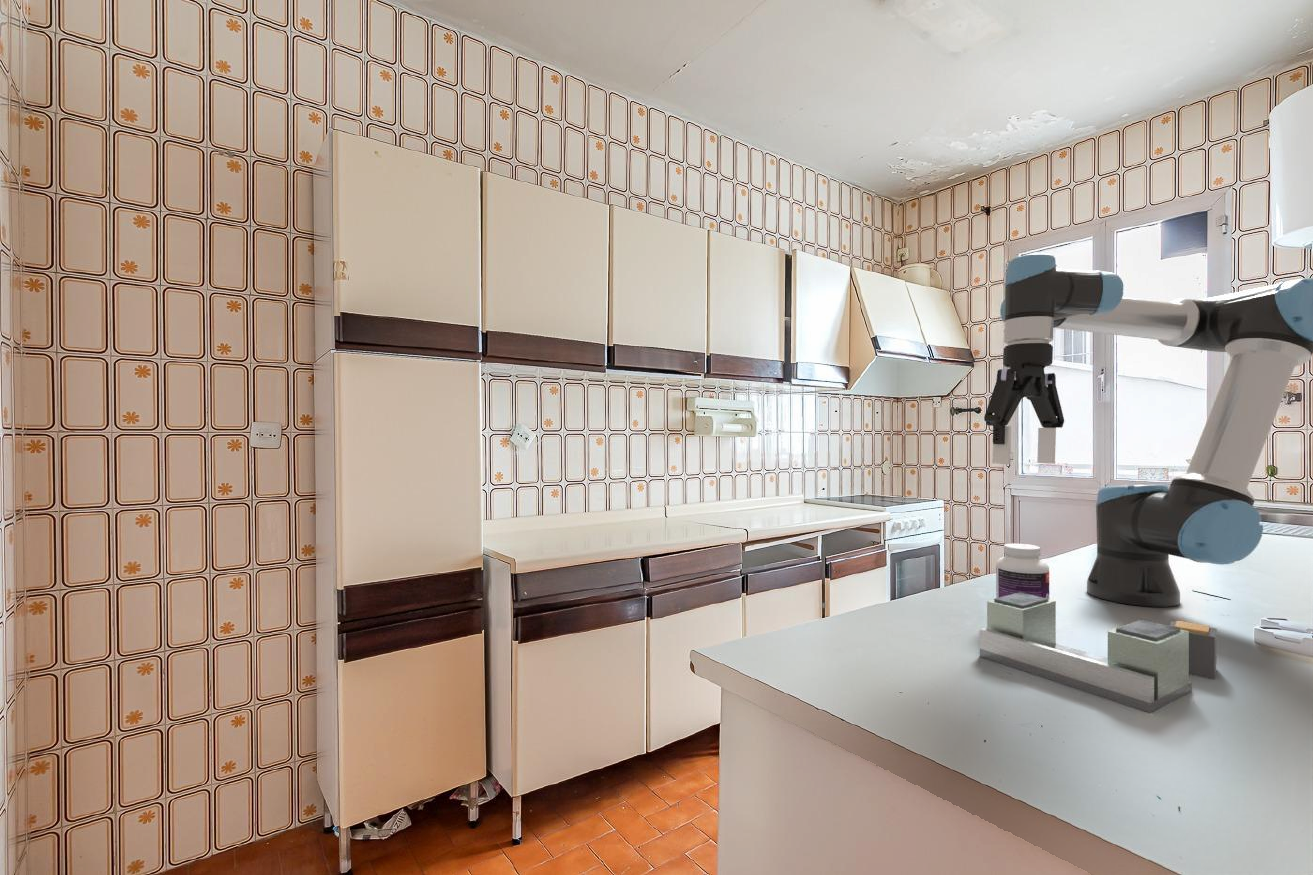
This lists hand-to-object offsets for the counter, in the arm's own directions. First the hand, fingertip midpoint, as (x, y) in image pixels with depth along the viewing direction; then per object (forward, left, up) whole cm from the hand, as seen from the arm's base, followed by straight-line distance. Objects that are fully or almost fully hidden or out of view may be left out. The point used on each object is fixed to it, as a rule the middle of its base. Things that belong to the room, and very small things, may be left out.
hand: (1024, 463), depth 109 cm
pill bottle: (+2, +1, -29) cm, 29 cm away
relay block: (0, +24, -29) cm, 37 cm away
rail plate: (+15, +16, -29) cm, 36 cm away
